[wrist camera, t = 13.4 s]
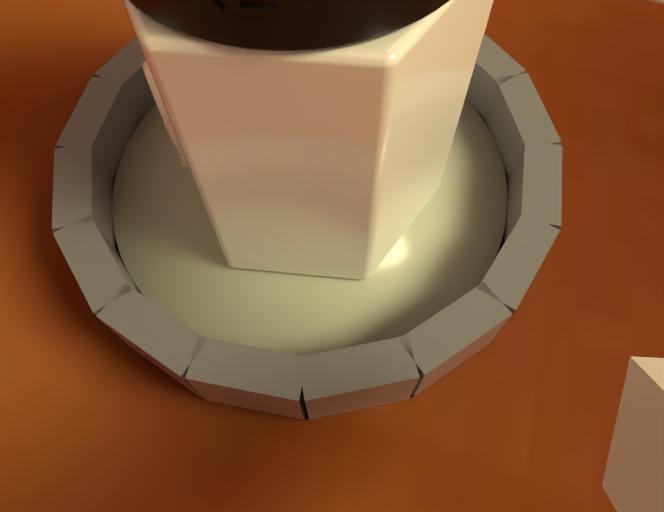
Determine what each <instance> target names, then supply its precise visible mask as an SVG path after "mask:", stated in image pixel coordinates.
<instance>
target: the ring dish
mask: <svg viewBox="0 0 664 512" xmlns="http://www.w3.org/2000/svg"><path fill="white" fill-rule="evenodd" d="M144 61H146V59H145V56H144V54H143V51H142V49H141V46H140V44H139V41H138V39H137V36H136V37H135V38H134V39H133V40H132V41H131V42H130V43H128V44H127V45H126V46H125V47H124V48H123V49H122V50H120V51H119V52H118V53H117V54H116V55H115V56H113V57H112V58H111V59H110V60H109V61H108V62H107V63H105V64H104V65H103V66H102V67H101V68H100V69H99V70H97V71H96V72H95V73H94V74H95V76H96V77H91V78H90V80H89V82H88V84H87V86H86V88H85V90H84V92H83V94H82V95H81V97H80V99H79V101H78V103H77V105H76V107H75V109H74V111H73V113H72V114H71V116H70V118H69V120H68V122H67V124H66V126H65V128H64V130H63V132H62V133H61V135H60V137H59V139H58V141H57V143H56V146H57V148H56V149H54V174H53V204H52V230H53V231H54V233H53V235H54V237H55V239H56V241H57V243H58V245H59V247H60V249H61V251H62V253H63V255H64V257H65V259H66V261H67V263H68V264H69V266H70V268H71V270H72V272H73V274H74V276H75V278H76V280H77V282H78V284H79V286H80V288H81V290H82V292H83V294H84V296H85V298H86V300H87V302H88V304H89V306H90V308H91V310H92V312H93V313H94V314H95V315H96V317H98V318H99V319H100V320H101V321H102V322H103V323H104V324H105V325H106V326H107V327H108V328H109V329H110V330H111V331H113V332H114V333H115V334H116V335H117V336H118V337H119V338H120V339H121V340H122V341H123V342H124V343H125V344H127V345H128V346H129V347H131V348H132V349H133V350H135V351H136V352H137V353H139V354H140V355H142V356H143V357H144V358H146V359H147V360H149V361H150V362H151V363H153V364H154V365H156V366H157V367H158V368H160V369H161V370H162V371H164V372H165V373H167V374H168V375H169V376H171V377H172V378H174V379H175V380H176V381H178V382H179V383H181V384H182V385H183V386H185V387H186V388H187V389H189V390H190V391H192V392H193V393H194V394H196V395H197V396H199V397H200V398H202V397H203V398H204V399H205V400H206V401H211V402H216V403H221V404H226V405H231V406H236V407H241V408H246V409H251V410H256V411H261V412H266V413H271V414H276V415H281V416H286V417H291V418H296V419H301V420H304V418H305V413H306V408H307V413H308V417H309V420H312V419H317V418H322V417H327V416H332V415H336V414H341V413H346V412H351V411H356V410H361V409H365V408H370V407H375V406H380V405H385V404H390V403H395V402H399V401H404V400H409V398H410V396H411V395H412V397H415V396H416V395H418V394H419V393H420V392H422V391H423V390H425V389H426V388H427V387H429V386H430V385H432V384H433V383H435V382H436V381H437V380H439V379H440V378H442V377H443V376H444V375H446V374H447V373H449V372H450V371H452V370H453V369H454V368H456V367H457V366H459V365H460V364H461V363H463V362H464V361H466V360H467V359H468V358H470V357H471V356H473V355H474V354H476V353H477V352H478V351H480V350H481V349H483V348H484V347H485V346H487V345H488V344H490V343H491V341H492V340H493V339H494V338H495V337H496V335H497V334H498V333H499V331H500V330H501V329H502V328H503V326H504V325H505V324H506V322H507V321H508V320H509V319H510V317H511V316H512V315H513V313H514V312H515V311H516V309H517V307H518V306H519V304H520V302H521V300H522V298H523V297H524V295H525V293H526V291H527V289H528V288H529V286H530V284H531V282H532V280H533V278H534V277H535V275H536V273H537V271H538V269H539V268H540V266H541V264H542V262H543V260H544V259H545V257H546V255H547V253H548V251H549V249H550V248H551V246H552V244H553V242H554V240H555V239H556V237H557V235H558V233H559V231H560V230H559V228H560V227H561V206H562V145H560V143H561V140H560V138H559V136H558V134H557V132H556V130H555V128H554V126H553V124H552V121H551V119H550V117H549V115H548V113H547V111H546V109H545V107H544V105H543V103H542V101H541V99H540V97H539V95H538V93H537V91H536V89H535V87H534V85H533V83H532V81H531V78H530V76H529V74H528V73H526V74H524V73H525V69H524V68H523V67H521V66H520V65H519V64H518V63H517V62H516V61H515V60H514V59H512V58H511V57H510V56H509V55H508V54H507V53H506V52H504V51H503V50H502V49H501V48H500V47H499V46H498V45H497V44H495V43H494V42H493V41H492V40H491V39H490V38H489V37H488V36H486V35H485V34H484V35H483V39H482V42H481V46H480V49H479V53H478V56H477V59H476V63H475V66H474V70H473V73H472V77H471V80H470V84H469V87H468V91H467V94H466V97H465V101H464V104H463V108H462V111H461V115H460V118H459V122H458V125H457V128H456V132H455V135H454V139H453V142H452V146H451V149H450V153H449V156H448V160H447V163H446V166H445V170H444V173H443V177H442V180H441V184H440V186H439V188H438V190H437V191H436V192H435V193H434V195H433V196H432V197H431V199H430V200H429V201H428V202H427V204H426V205H425V206H424V208H423V209H422V210H421V212H420V213H419V214H418V215H417V217H416V218H415V219H414V221H413V222H412V223H411V225H410V226H409V227H408V228H407V230H406V231H405V232H404V234H403V235H402V236H401V238H400V239H399V240H398V241H397V243H396V244H395V245H394V247H393V248H392V249H391V251H390V252H389V253H388V255H387V256H386V257H385V258H384V260H383V261H382V262H381V264H380V265H379V266H378V268H377V269H376V270H375V272H374V273H373V274H372V276H371V277H370V278H368V279H366V280H358V279H347V278H336V277H326V276H315V275H304V274H294V273H283V272H272V271H262V270H251V269H240V268H233V267H230V266H229V265H228V264H227V262H226V260H225V257H224V255H223V252H222V250H221V247H220V245H219V242H218V240H217V237H216V235H215V232H214V229H213V227H212V224H211V222H210V219H209V217H208V214H207V212H206V209H205V207H204V204H203V202H202V199H201V197H200V194H199V192H198V189H197V187H196V184H195V182H194V179H193V177H192V174H191V172H190V169H189V167H184V166H182V164H181V162H180V160H179V158H178V155H177V153H176V151H175V148H174V146H173V144H172V141H171V139H170V137H169V134H168V132H167V129H166V127H165V124H164V122H163V119H162V117H161V114H160V112H159V109H158V107H157V104H156V102H155V99H154V97H153V94H152V92H151V89H150V87H149V84H148V82H147V79H146V77H145V74H144V71H143V69H142V64H143V63H144ZM499 246H500V251H499V253H498V250H499ZM497 253H498V255H497ZM496 255H497V257H496ZM495 257H496V258H495ZM494 259H495V260H494ZM493 261H494V262H493Z"/></svg>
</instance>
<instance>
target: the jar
mask: <svg viewBox="0 0 664 512" xmlns="http://www.w3.org/2000/svg"><path fill="white" fill-rule="evenodd" d="M122 1H123V4H124V6H125V9H126V11H127V14H128V16H129V19H130V21H131V24H132V26H133V29H134V31H135V34H136V36H137V39H138V41H139V44H140V46H141V49H142V51H143V54H144V56H145V59H146V61H144V63H143V64H142V69H143V71H144V74H145V77H146V79H147V82H148V84H149V87H150V89H151V92H152V94H153V97H154V99H155V102H156V104H157V107H158V109H159V112H160V114H161V117H162V119H163V122H164V124H165V127H166V129H167V132H168V134H169V137H170V139H171V141H172V144H173V146H174V148H175V151H176V153H177V155H178V158H179V160H180V162H181V164H182V166H184V167H189V169H190V172H191V174H192V177H193V179H194V182H195V184H196V187H197V189H198V192H199V194H200V197H201V199H202V202H203V204H204V207H205V209H206V212H207V214H208V217H209V219H210V222H211V224H212V227H213V229H214V232H215V235H216V237H217V240H218V242H219V245H220V247H221V250H222V252H223V255H224V257H225V260H226V262H227V264H228V265H229V266H230V267H233V268H240V269H251V270H262V271H272V272H283V273H294V274H304V275H315V276H326V277H336V278H347V279H358V280H366V279H368V278H370V277H371V276H372V274H373V273H374V272H375V270H376V269H377V268H378V266H379V265H380V264H381V262H382V261H383V260H384V258H385V257H386V256H387V255H388V253H389V252H390V251H391V249H392V248H393V247H394V245H395V244H396V243H397V241H398V240H399V239H400V238H401V236H402V235H403V234H404V232H405V231H406V230H407V228H408V227H409V226H410V225H411V223H412V222H413V221H414V219H415V218H416V217H417V215H418V214H419V213H420V212H421V210H422V209H423V208H424V206H425V205H426V204H427V202H428V201H429V200H430V199H431V197H432V196H433V195H434V193H435V192H436V191H437V190H438V188H439V186H440V184H441V180H442V177H443V173H444V170H445V166H446V163H447V160H448V156H449V153H450V149H451V146H452V142H453V139H454V135H455V132H456V128H457V125H458V122H459V118H460V115H461V111H462V108H463V104H464V101H465V97H466V94H467V91H468V87H469V84H470V80H471V77H472V73H473V70H474V66H475V63H476V59H477V56H478V53H479V49H480V46H481V42H482V39H483V35H484V32H485V28H486V25H487V21H488V18H489V15H490V11H491V8H492V4H493V1H494V0H122Z"/></svg>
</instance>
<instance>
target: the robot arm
mask: <svg viewBox="0 0 664 512" xmlns="http://www.w3.org/2000/svg"><path fill="white" fill-rule="evenodd" d="M602 487H603V489H604V490H605V492H606V494H607V495H608V497H609V499H610V501H611V502H612V504H613V506H614V507H615V509H616V511H617V512H664V358H650V357H631V356H630V360H629V365H628V369H627V374H626V379H625V383H624V388H623V392H622V397H621V401H620V406H619V410H618V415H617V420H616V424H615V429H614V433H613V438H612V442H611V447H610V451H609V456H608V461H607V465H606V470H605V474H604V479H603V483H602Z"/></svg>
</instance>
